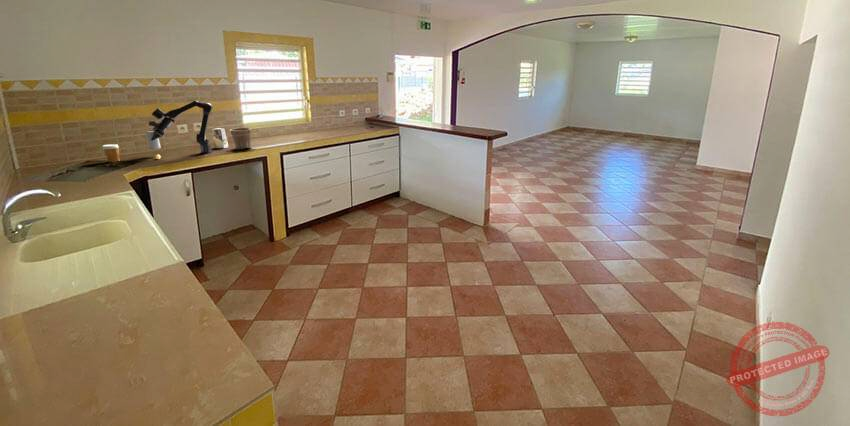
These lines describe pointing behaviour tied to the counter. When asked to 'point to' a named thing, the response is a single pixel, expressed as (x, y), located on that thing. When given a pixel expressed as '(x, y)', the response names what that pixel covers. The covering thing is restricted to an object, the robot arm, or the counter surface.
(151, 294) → the counter surface
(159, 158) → the amber ball
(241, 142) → the plant pot
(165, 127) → the robot arm
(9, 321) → the counter surface
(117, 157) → the disposable coffee cup
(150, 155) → the counter surface
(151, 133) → the white tapered cylinder
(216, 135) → the coffee box
